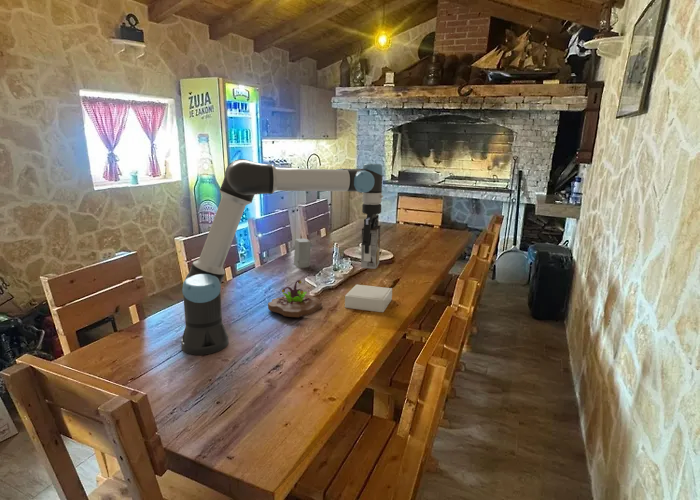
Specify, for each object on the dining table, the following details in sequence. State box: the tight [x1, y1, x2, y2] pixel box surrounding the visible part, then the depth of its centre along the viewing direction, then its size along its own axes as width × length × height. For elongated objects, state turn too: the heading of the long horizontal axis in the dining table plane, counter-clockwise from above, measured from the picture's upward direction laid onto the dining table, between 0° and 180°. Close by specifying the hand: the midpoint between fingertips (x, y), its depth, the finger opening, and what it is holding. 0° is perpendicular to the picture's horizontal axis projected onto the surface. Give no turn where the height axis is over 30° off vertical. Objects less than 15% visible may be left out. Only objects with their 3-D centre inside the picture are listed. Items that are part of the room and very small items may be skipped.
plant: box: [267, 279, 323, 318], centre depth 170 cm, size 20×20×11 cm
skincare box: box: [293, 237, 312, 269], centre depth 226 cm, size 8×7×16 cm
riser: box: [344, 283, 393, 313], centre depth 176 cm, size 16×16×5 cm
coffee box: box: [360, 225, 381, 270], centre depth 171 cm, size 9×6×16 cm
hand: (370, 258), depth 172 cm, fingers closed on coffee box, 9 cm apart
